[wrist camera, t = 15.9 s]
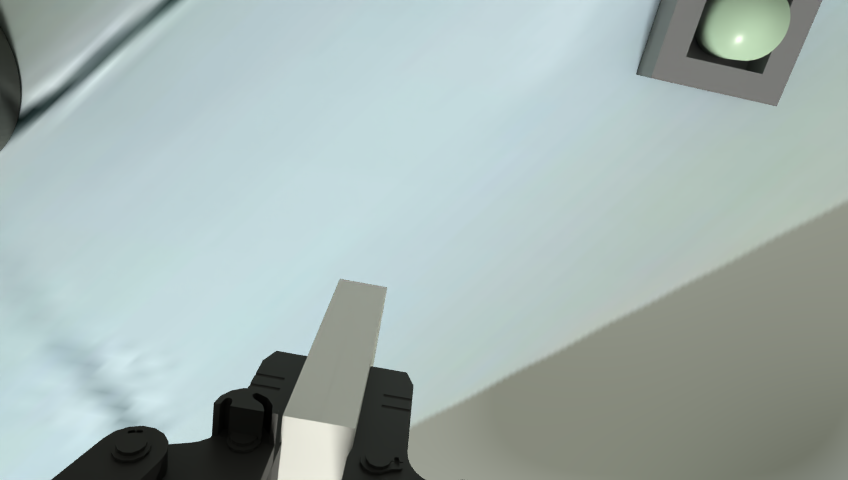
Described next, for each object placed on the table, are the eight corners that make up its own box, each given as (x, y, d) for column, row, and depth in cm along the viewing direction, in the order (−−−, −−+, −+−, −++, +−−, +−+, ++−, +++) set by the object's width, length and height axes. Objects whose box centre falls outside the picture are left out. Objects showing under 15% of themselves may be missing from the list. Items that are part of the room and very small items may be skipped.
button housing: (636, 74, 37) (651, 77, 34) (680, -59, 34) (700, -67, 31) (752, 100, 37) (776, 106, 34) (806, -30, 34) (837, -35, 32)
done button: (685, 50, 35) (705, 52, 32) (710, -19, 34) (733, -23, 31) (746, 64, 35) (772, 67, 32) (773, -4, 34) (802, -7, 31)
